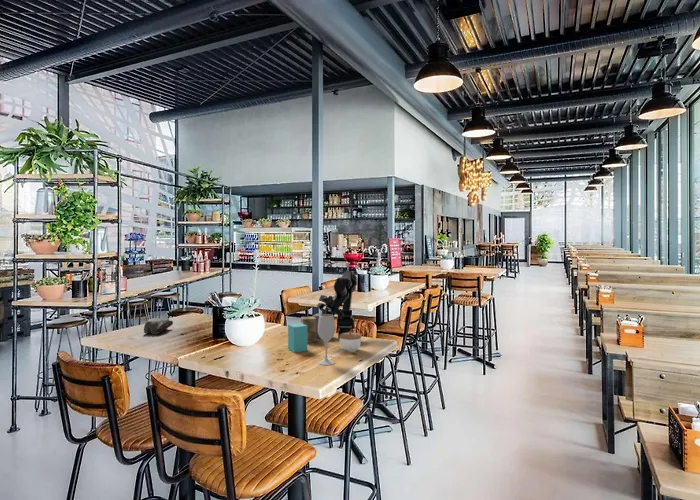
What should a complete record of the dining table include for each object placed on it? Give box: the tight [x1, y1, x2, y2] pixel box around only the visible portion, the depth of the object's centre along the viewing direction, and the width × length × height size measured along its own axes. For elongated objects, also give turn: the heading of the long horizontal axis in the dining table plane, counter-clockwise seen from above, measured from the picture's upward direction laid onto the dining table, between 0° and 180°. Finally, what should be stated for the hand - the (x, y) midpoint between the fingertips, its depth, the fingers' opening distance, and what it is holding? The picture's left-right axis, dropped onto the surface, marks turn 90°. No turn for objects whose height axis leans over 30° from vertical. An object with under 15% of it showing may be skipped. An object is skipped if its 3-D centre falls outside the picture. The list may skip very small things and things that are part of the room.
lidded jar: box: [339, 331, 362, 353], centre depth 212 cm, size 11×11×9 cm
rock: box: [143, 317, 174, 335], centre depth 252 cm, size 18×11×8 cm, turn 1°
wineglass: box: [317, 313, 336, 366], centre depth 191 cm, size 8×8×21 cm
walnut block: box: [300, 315, 317, 343], centre depth 229 cm, size 7×7×12 cm
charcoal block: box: [312, 313, 322, 339], centre depth 238 cm, size 7×7×12 cm
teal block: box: [287, 322, 308, 353], centre depth 210 cm, size 7×7×12 cm
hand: (319, 323), depth 215 cm, fingers closed
